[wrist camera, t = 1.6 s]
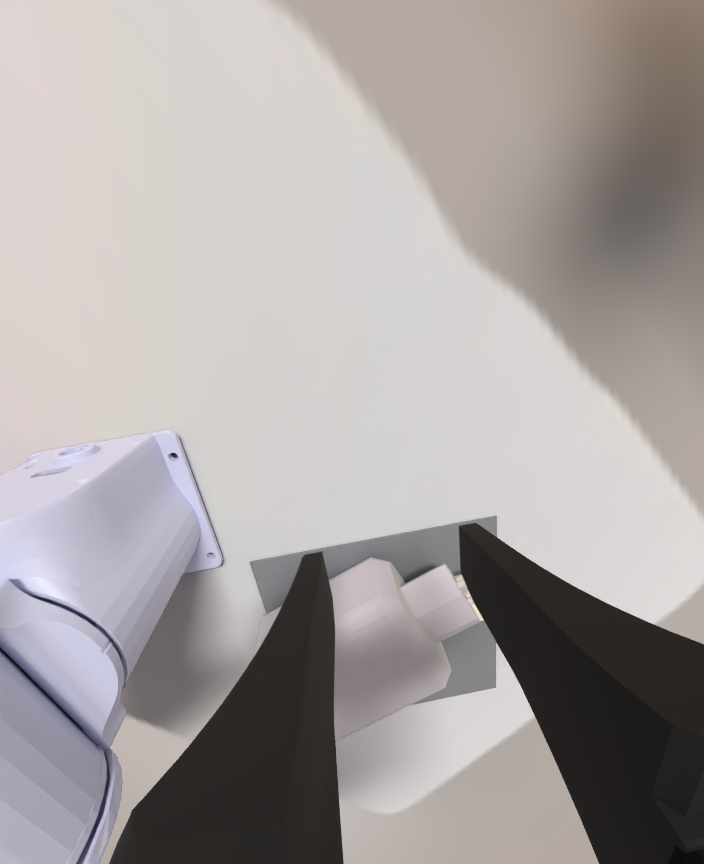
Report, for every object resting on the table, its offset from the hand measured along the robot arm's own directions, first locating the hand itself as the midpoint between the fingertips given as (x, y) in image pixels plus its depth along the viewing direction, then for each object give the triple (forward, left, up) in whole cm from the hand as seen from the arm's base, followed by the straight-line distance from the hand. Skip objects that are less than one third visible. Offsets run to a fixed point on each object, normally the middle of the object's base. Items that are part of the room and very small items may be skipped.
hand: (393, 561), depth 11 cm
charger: (+12, 0, -9) cm, 15 cm away
